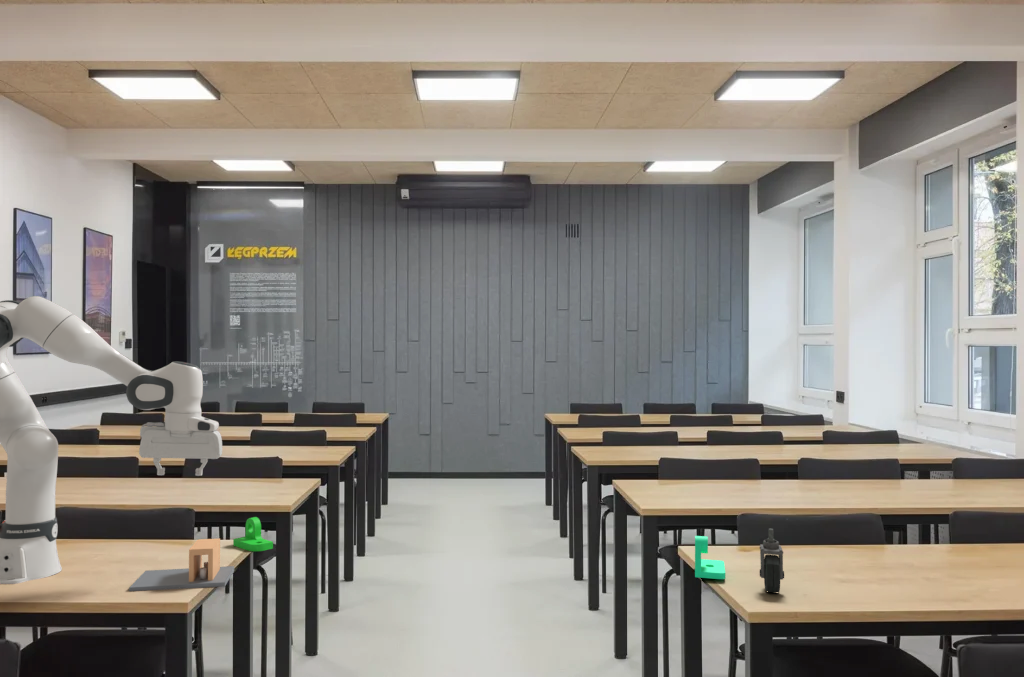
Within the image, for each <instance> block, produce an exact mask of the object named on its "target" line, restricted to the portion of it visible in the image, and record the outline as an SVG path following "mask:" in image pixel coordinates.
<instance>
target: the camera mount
mask: <svg viewBox="0 0 1024 677" xmlns="http://www.w3.org/2000/svg"><path fill="white" fill-rule="evenodd" d="M708 553H709V536H704V535H702V536H701V535H694V577H695V578H698V579H699V578H702V579H715V580H725V579H726V568H725V566H726V565H725V561H724V560H719V559H706V558H705V559H704V558H702V554H708Z"/></svg>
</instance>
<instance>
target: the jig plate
mask: <svg viewBox="0 0 1024 677" xmlns="http://www.w3.org/2000/svg"><path fill="white" fill-rule="evenodd" d="M234 572H235V566H234V565H231V566H230V565H229V566H220V570H219V571H218V573H217V574H216V576H215V577H214V579H213V580H212V581H208V561H204V562H203V566H202V568H200V573H199V575H198V576H197V577H196V579H195V580H194V582H189V567H188V568H170V569H169V568H167V569H152V570H150V569H149V570H145V571H144V572H143V573H141V575H140V576H139V577H138V578H137V579H136V580H134V582H133V583H132V584H131V585H130V586H129V589H128V591H129V592H139V591H141V592H143V591H144V592H145V591H158V590H159V591H161V590H179V589H180V590H181V589H199V588H200V589H202V588H203V589H204V588H219V587H220V588H221V587H226V585H227V584H228V582H229V580H230V579H231V577H232V576H233V573H234Z"/></svg>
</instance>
